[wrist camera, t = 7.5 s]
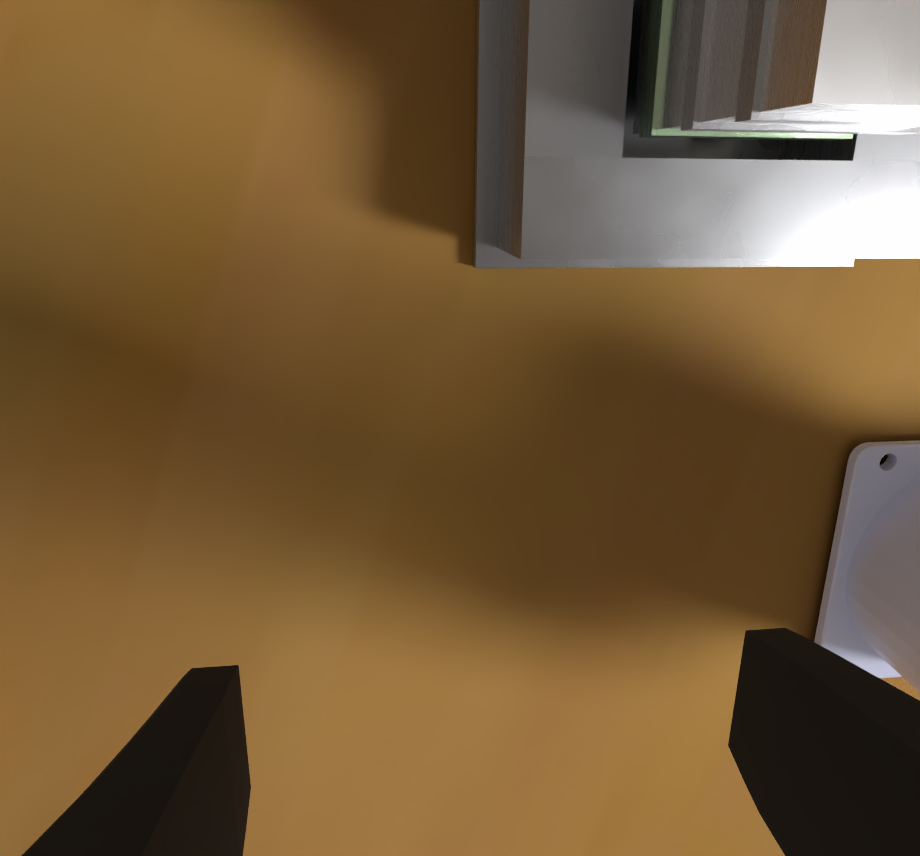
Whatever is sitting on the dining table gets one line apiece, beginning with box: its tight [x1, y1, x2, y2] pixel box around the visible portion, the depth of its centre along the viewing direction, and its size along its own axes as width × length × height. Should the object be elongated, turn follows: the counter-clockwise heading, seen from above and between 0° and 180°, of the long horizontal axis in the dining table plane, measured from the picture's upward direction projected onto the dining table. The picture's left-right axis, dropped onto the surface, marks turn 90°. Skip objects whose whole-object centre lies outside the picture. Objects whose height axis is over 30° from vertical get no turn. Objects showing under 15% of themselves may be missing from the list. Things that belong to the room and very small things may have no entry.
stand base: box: [473, 0, 920, 268], centre depth 16 cm, size 10×10×4 cm
